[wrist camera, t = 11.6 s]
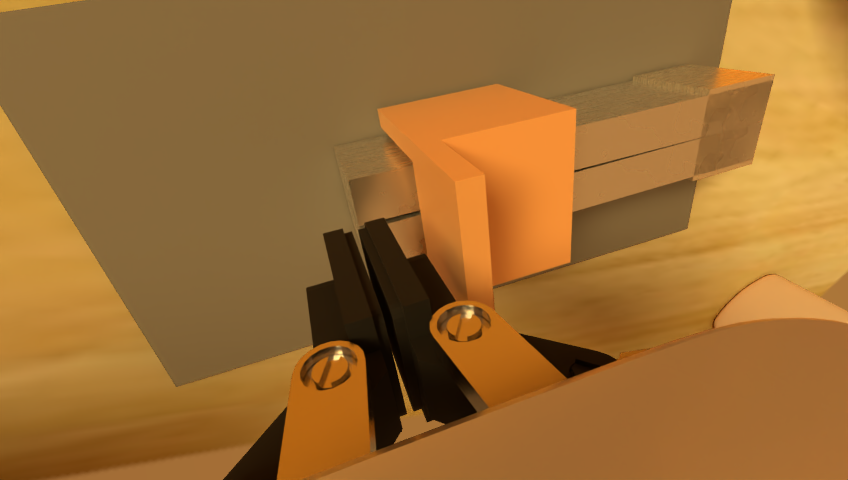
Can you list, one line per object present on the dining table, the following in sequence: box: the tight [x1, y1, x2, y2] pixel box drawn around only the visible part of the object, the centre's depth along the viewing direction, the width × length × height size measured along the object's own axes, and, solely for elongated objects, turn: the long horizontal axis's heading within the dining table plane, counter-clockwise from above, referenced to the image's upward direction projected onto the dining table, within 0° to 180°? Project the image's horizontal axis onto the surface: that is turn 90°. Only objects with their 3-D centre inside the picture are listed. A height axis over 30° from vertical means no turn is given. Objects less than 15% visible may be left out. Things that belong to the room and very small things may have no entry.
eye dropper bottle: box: [714, 274, 848, 328], centre depth 26 cm, size 4×6×12 cm
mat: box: [0, 0, 732, 387], centre depth 18 cm, size 28×15×1 cm, turn 99°
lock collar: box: [377, 84, 576, 311], centre depth 15 cm, size 5×6×8 cm
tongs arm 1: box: [344, 122, 762, 258], centre depth 18 cm, size 16×2×4 cm, turn 99°
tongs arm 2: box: [334, 64, 775, 226], centre depth 17 cm, size 16×2×4 cm, turn 98°
